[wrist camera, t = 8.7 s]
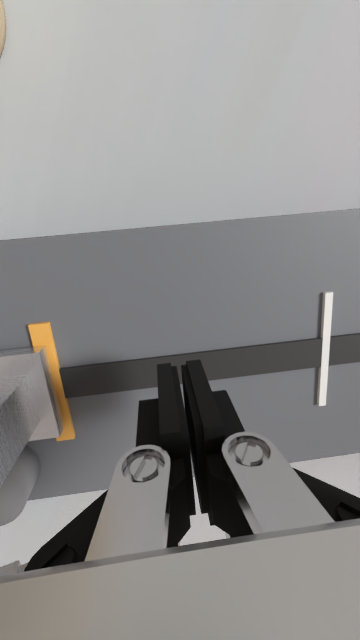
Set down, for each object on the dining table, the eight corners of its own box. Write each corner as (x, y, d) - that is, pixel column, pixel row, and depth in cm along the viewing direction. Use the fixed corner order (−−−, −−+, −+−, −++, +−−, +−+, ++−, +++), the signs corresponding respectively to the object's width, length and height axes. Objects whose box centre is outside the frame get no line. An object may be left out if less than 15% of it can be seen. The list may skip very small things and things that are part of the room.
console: (-90, 249, 14) (-180, 254, 10) (416, 204, 16) (501, 194, 12) (-11, 479, 18) (-54, 545, 14) (386, 424, 20) (442, 470, 16)
